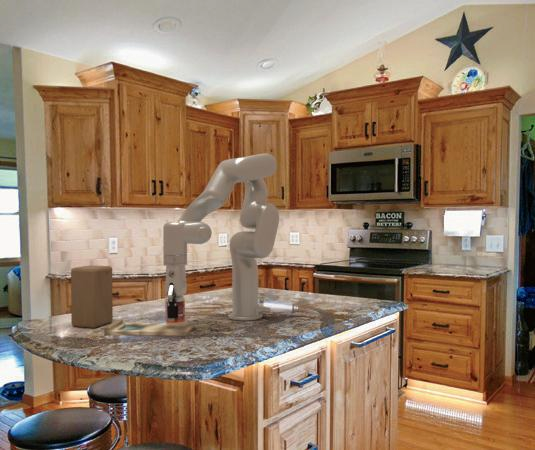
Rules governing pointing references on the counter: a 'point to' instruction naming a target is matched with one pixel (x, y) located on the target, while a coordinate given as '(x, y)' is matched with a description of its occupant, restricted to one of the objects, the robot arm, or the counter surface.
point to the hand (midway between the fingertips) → (175, 315)
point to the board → (148, 329)
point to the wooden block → (91, 296)
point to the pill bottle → (181, 312)
